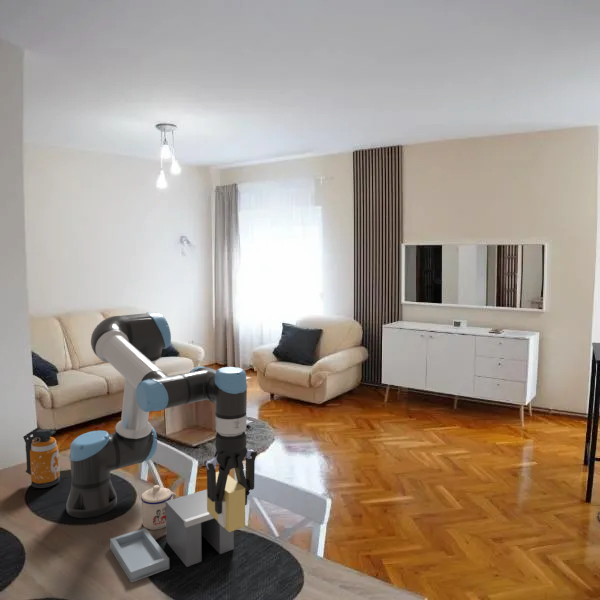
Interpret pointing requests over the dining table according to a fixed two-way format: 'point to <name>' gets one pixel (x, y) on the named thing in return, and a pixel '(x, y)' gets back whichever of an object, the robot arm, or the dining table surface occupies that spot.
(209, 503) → the yellow cuboid
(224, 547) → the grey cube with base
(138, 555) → the tray
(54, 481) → the canister
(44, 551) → the dining table surface
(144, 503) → the teacup with lid
